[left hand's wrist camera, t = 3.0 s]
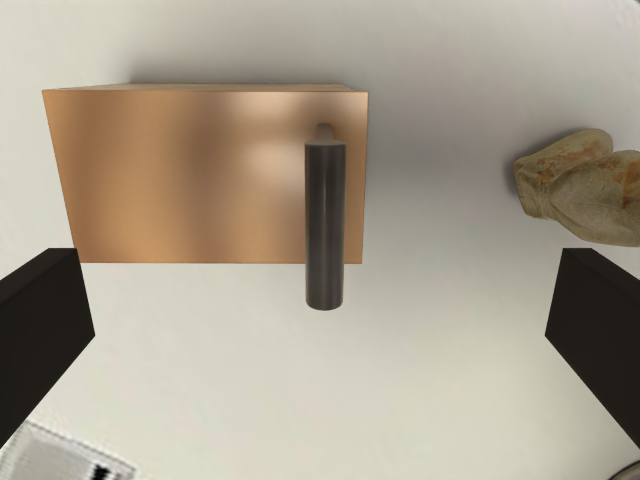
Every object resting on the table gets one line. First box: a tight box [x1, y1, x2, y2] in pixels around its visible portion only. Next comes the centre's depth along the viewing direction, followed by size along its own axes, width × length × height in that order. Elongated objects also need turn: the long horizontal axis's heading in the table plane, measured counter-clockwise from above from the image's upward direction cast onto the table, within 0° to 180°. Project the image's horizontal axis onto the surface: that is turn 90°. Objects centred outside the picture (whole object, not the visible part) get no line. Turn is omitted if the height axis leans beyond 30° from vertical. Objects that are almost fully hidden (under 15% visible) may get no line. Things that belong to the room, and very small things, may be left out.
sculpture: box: [513, 129, 640, 247], centre depth 27 cm, size 6×7×15 cm
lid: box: [42, 89, 369, 311], centre depth 20 cm, size 16×9×9 cm, turn 90°
